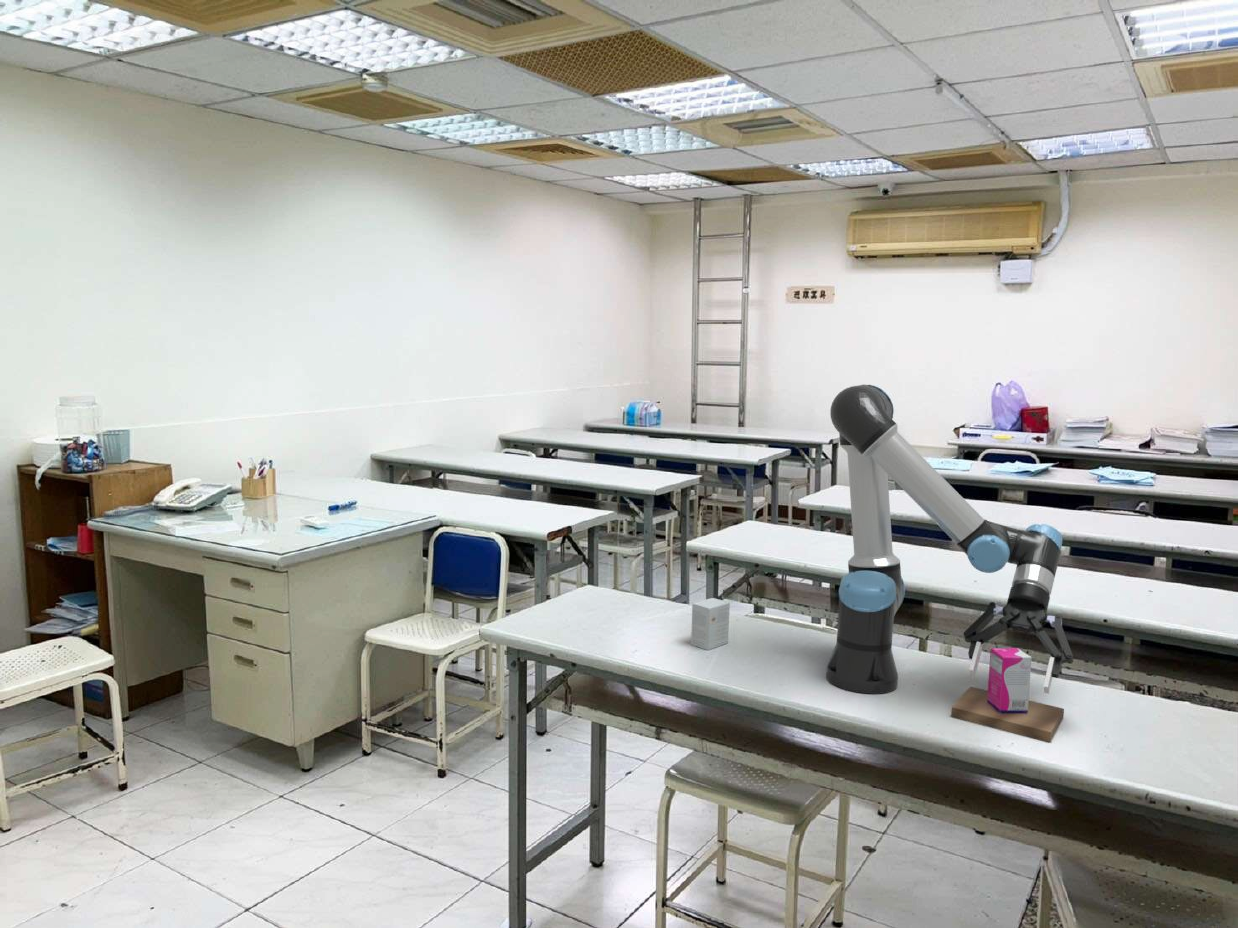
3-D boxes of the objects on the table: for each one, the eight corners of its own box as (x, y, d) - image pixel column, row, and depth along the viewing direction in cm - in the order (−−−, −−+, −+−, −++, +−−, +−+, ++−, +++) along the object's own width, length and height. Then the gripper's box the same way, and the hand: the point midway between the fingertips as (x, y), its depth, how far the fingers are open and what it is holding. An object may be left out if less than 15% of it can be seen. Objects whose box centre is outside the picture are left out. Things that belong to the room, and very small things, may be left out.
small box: (711, 637, 215) (712, 597, 214) (728, 643, 211) (730, 602, 210) (690, 644, 210) (691, 603, 208) (707, 650, 206) (709, 608, 204)
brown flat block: (950, 716, 171) (951, 707, 171) (969, 695, 182) (970, 686, 182) (1050, 742, 161) (1051, 732, 160) (1063, 718, 172) (1064, 708, 172)
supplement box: (1013, 701, 175) (1018, 647, 173) (1028, 713, 169) (1033, 657, 167) (985, 701, 174) (990, 646, 173) (999, 713, 169) (1004, 657, 167)
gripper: (1098, 612, 174) (1080, 706, 164) (970, 590, 189) (945, 675, 178) (1097, 592, 169) (1078, 688, 159) (965, 571, 184) (940, 657, 173)
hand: (1008, 681), depth 169 cm, fingers open, 13 cm apart
